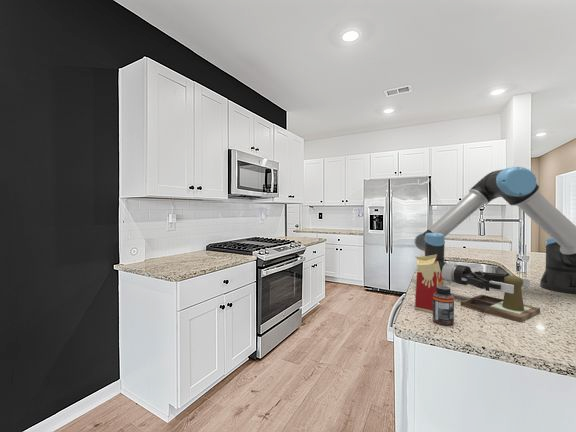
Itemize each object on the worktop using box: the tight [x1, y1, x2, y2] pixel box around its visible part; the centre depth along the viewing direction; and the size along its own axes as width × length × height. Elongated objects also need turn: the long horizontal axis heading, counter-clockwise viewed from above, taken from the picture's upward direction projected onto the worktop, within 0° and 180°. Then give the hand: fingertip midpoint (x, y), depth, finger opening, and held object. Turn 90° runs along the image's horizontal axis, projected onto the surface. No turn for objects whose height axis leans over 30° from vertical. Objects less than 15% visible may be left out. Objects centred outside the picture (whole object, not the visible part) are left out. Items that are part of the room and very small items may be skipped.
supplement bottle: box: [432, 285, 455, 326], centre depth 92 cm, size 6×6×11 cm
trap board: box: [460, 294, 541, 323], centre depth 104 cm, size 16×18×2 cm
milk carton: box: [414, 254, 445, 314], centre depth 104 cm, size 9×9×20 cm
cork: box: [502, 275, 525, 311], centre depth 100 cm, size 6×6×11 cm
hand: (522, 286), depth 98 cm, fingers open, 13 cm apart
